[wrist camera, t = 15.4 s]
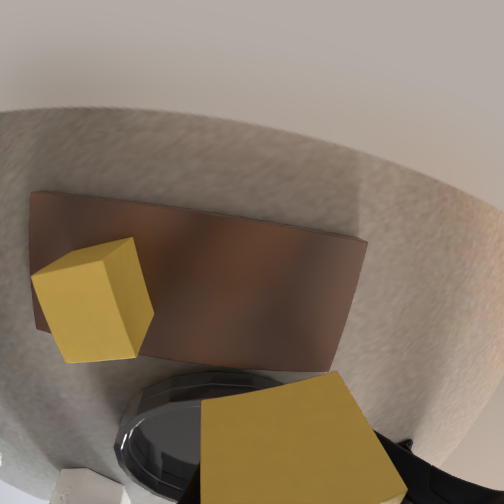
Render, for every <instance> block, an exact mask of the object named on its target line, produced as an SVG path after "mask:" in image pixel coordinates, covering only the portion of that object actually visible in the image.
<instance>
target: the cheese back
mask: <svg viewBox="0 0 504 504" xmlns="http://www.w3.org/2000/svg"><path fill="white" fill-rule="evenodd" d="M31 279H32V282H33V285H34V288H35V291H36V294H37V297H38V299H39V302H40V305H41V308H42V310H43V313H44V315H45V318H46V320H47V323H48V325H49V328H50V330H51V332H52V335H53V337H54V339H55V341H56V343H57V346H58V348H59V350H60V352H61V354H62V356H63V358H64V360H65V362H66V363H79V362H94V361H106V360H117V359H127V358H136V357H137V355H138V352H139V350H140V347H141V345H142V342H143V340H144V337H145V335H146V332H147V330H148V327H149V325H150V323H151V320H152V318H153V315H154V311H153V308H152V305H151V301H150V298H149V295H148V291H147V288H146V285H145V281H144V278H143V274H142V270H141V267H140V263H139V259H138V255H137V252H136V248H135V244H134V240H133V237H129V238H125V239H121V240H116V241H112V242H108V243H104V244H99V245H95V246H91V247H87V248H83V249H79V250H75V251H72V252H70V253H68V254H66V255H65V256H63V257H61V258H59V259H58V260H56V261H54V262H53V263H51V264H49V265H48V266H46V267H44V268H43V269H41V270H39V271H38V272H36V273H35V274H33V275H32V276H31Z"/></svg>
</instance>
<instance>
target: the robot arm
mask: <svg viewBox="0 0 504 504" xmlns="http://www.w3.org/2000/svg"><path fill="white" fill-rule="evenodd" d="M373 431H374V433H375V435H376V436H377V438H378V440H379V441H380V443H381V445H382V446H383V448H384V450H385V451H386V453H387V455H388V456H389V458H390V460H391V461H392V463H393V465H394V466H395V468H396V470H397V472H398V473H399V475H400V477H401V478H402V480H403V482H404V483H405V485H406V487H407V489H408V491H407V493H406V494H405V496H404V498H403V500H402V501H401V503H400V504H504V491H498V490H493V489H489V488H486V487H482V486H480V485H477V484H474V483H471V482H468V481H465V480H462V479H460V478H457V477H455V476H452V475H450V474H448V473H446V472H444V471H442V470H440V469H438V468H436V467H435V466H433V465H432V466H431V464H429V463H428V462H426V461H424V460H422V459H421V458H419V457H417V456H415V455H414V454H413V453H412V451H411V447H412V444H413V441H412V439H409V440H407V441H405V442H403V443H401V444H399V445H397V444H395V443H394V442H392V441H391V440H389V439H387V438H386V437H384V436H383V435H381V434H380V433H378V432H376V431H375V430H373ZM177 504H201V486H200V461H199V463H198V465H197V467H196V469H195V471H194V473H193V475H192V477H191V478H190V480H189V482H188V484H187V486H186V488H185V490H184V492H183V493H182V495H181V497H180V499H179V501H178V503H177Z"/></svg>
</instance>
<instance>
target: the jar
mask: <svg viewBox="0 0 504 504" xmlns="http://www.w3.org/2000/svg"><path fill="white" fill-rule="evenodd" d="M49 504H131V501H130V498H129V496H128V494H127V491H126V489H125V487H124V485H122V484H119V483H117V482H115V481H113V480H110V479H108V478H106V477H104V476H102V475H100V474H98V473H96V472H94V471H92V470H90V469H88V468H75V469H62V470H61V473H60V475H59V478H58V481H57V484H56V486H55V489H54V492H53V495H52V498H51V500H50V503H49Z"/></svg>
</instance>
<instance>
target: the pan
mask: <svg viewBox="0 0 504 504" xmlns="http://www.w3.org/2000/svg"><path fill="white" fill-rule="evenodd" d="M281 385H285V384H283V383H279V382H276V381H272V380H269V379H265V378H262V377H258V376H255V375H252V374H240V373H225V372H204V373H197V374H190V375H183V376H175V377H172V378H169V379H167V380H165V381H162V382H160V383H157V384H155V385H153V386H150V387H148V388H145V389H144V390H142V391H141V392H140V393H139V394H138V395H137V396H136V397H135V398H134V399H133V400H132V401H131V402H130V403H129V404H128V405H127V406H126V408H125V411H124V414H123V418H122V421H121V424H120V427H119V430H118V434H117V437H116V440H115V444H114V450H115V454H116V457H117V460H118V463H119V466H120V467H121V468H122V469H123V471H124V472H125V473H126V474H127V475H128V476H129V477H130V479H131V480H132V481H134V482H135V483H136V484H138V485H139V486H141V487H142V488H144V489H146V490H147V491H149V492H150V493H152V494H154V495H156V496H159V497H161V498H164V499H166V500H169V501H171V502H174V503H178V501H179V499H180V497H181V495H182V493H183V492H184V490H185V488H186V486H187V484H188V482H189V480H190V478H191V477H192V475H193V473H194V471H195V469H196V467H197V465H198V463H199V461H200V450H201V402H202V400H206V399H213V398H220V397H226V396H232V395H237V394H243V393H248V392H253V391H258V390H263V389H268V388H272V387H277V386H281Z"/></svg>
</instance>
